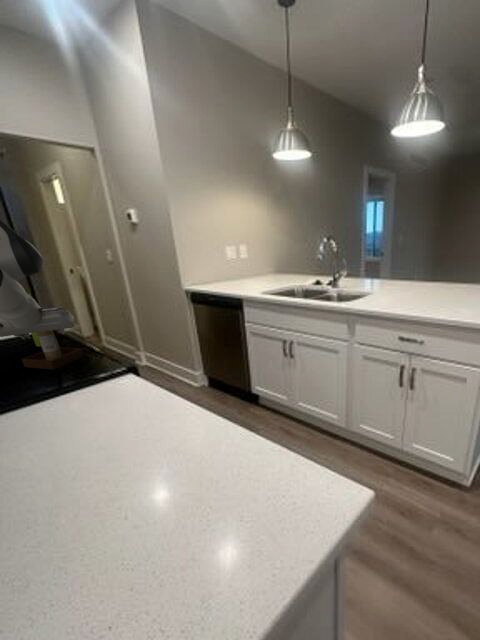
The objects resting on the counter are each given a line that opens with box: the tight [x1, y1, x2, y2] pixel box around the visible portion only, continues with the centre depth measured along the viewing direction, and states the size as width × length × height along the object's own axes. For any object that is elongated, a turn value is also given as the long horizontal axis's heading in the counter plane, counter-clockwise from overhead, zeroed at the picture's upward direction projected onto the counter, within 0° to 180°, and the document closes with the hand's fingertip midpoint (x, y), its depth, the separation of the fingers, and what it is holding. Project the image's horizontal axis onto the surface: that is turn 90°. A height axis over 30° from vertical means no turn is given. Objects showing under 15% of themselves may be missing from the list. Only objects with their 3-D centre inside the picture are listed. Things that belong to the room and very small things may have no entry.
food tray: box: [21, 346, 85, 371], centre depth 111 cm, size 12×11×3 cm
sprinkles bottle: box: [37, 330, 62, 361], centre depth 108 cm, size 5×5×14 cm
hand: (44, 334), depth 107 cm, fingers open, 8 cm apart
